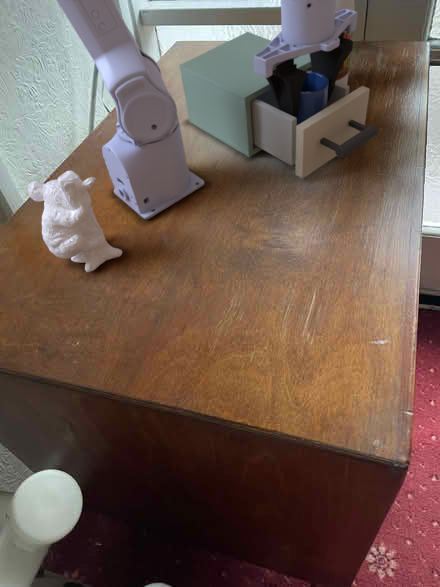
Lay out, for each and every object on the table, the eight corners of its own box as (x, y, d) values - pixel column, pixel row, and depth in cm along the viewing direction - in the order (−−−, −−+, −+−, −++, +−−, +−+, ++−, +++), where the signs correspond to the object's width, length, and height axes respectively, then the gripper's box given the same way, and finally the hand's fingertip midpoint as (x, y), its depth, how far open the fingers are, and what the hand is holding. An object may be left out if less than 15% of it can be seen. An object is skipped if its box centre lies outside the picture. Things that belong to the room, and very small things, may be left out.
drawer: (387, 149, 59) (397, 99, 54) (325, 192, 55) (330, 142, 50) (294, 106, 68) (295, 59, 62) (236, 140, 64) (231, 93, 59)
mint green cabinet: (314, 118, 67) (317, 57, 60) (249, 157, 63) (244, 97, 56) (251, 88, 74) (247, 31, 67) (189, 122, 70) (179, 65, 63)
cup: (306, 136, 57) (307, 98, 53) (276, 121, 60) (275, 84, 56) (335, 118, 59) (338, 80, 55) (304, 104, 62) (305, 67, 58)
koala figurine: (138, 244, 55) (107, 157, 45) (109, 286, 51) (69, 201, 42) (79, 230, 57) (39, 146, 48) (48, 269, 54) (-3, 186, 44)
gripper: (285, 22, 43) (286, 148, 54) (386, -28, 48) (368, 96, 58) (236, 5, 47) (245, 126, 57) (334, -40, 52) (326, 79, 62)
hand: (304, 110), depth 58 cm, fingers closed on cup, 5 cm apart
